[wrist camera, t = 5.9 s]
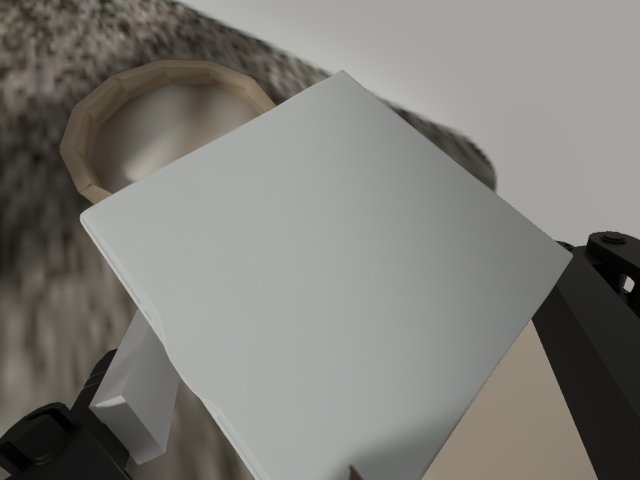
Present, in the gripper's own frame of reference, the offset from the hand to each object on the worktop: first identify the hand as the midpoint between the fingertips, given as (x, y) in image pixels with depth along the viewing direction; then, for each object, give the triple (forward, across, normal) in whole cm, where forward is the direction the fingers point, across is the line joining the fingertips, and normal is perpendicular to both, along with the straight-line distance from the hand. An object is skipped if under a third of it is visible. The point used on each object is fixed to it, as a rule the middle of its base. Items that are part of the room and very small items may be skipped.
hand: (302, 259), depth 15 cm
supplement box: (+3, 0, -6) cm, 7 cm away
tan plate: (+16, -6, +6) cm, 18 cm away
